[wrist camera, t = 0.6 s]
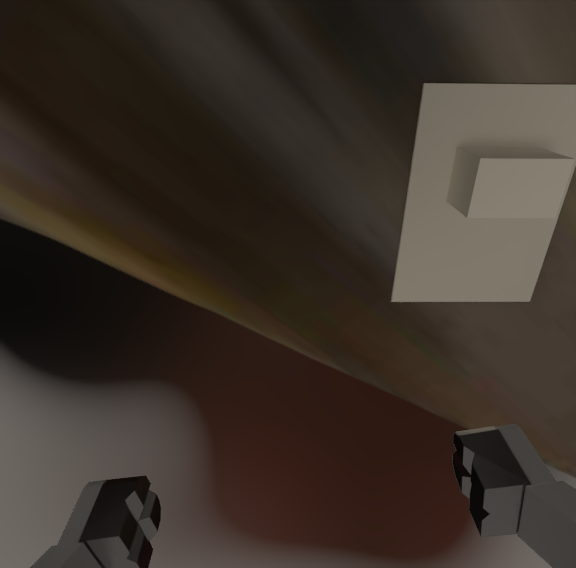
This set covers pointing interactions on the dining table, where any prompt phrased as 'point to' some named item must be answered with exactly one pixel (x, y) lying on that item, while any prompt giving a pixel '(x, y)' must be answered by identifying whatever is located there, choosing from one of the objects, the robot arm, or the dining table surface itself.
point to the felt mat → (477, 231)
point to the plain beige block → (508, 182)
